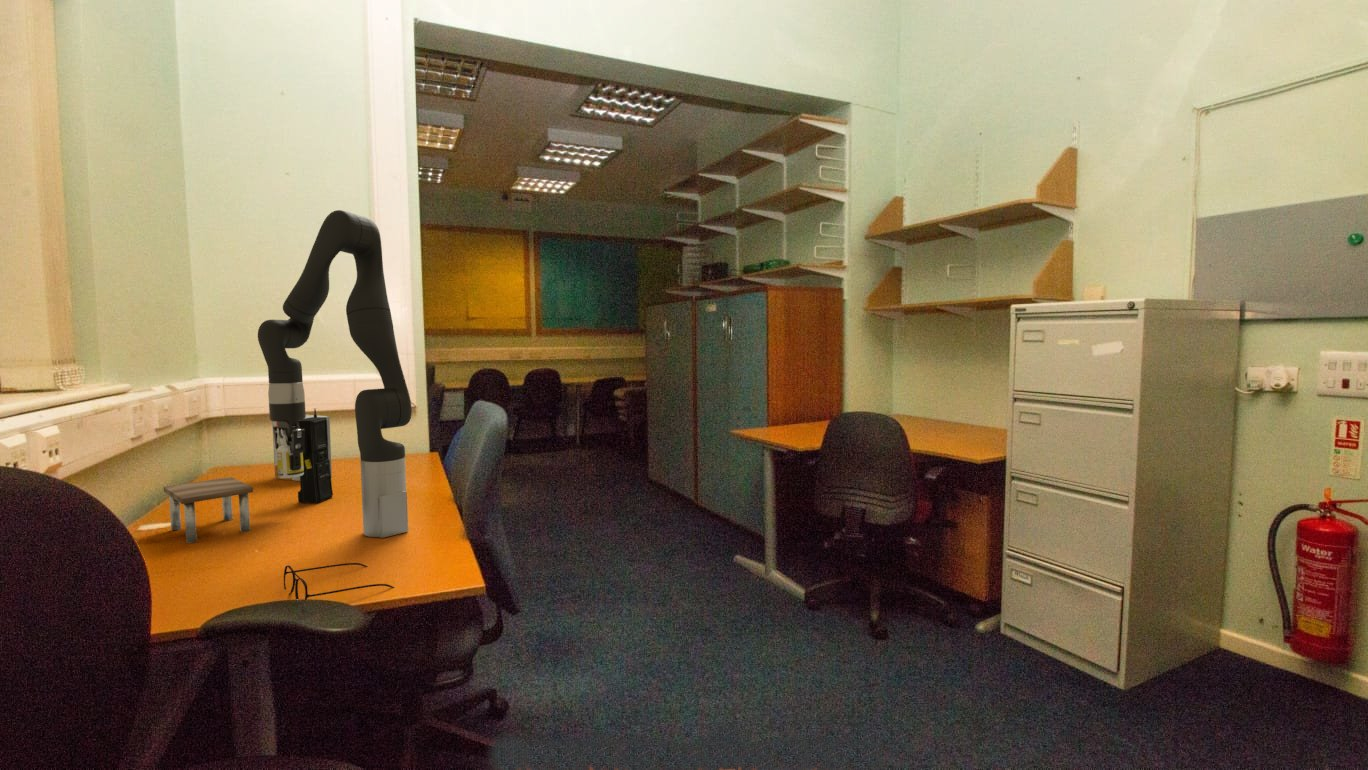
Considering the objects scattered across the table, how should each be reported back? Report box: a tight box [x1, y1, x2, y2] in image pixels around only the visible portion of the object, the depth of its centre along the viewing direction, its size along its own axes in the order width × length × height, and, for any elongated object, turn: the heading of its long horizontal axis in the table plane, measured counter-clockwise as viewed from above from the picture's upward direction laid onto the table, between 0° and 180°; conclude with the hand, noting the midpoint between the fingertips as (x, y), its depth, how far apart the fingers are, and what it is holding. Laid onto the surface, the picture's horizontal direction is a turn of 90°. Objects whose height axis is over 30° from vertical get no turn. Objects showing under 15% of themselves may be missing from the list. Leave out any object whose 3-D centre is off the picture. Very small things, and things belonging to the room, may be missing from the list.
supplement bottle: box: [277, 438, 304, 478], centre depth 153 cm, size 5×5×10 cm
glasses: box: [283, 562, 395, 601], centre depth 111 cm, size 14×15×5 cm
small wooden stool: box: [163, 476, 254, 544], centre depth 143 cm, size 16×13×10 cm
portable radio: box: [297, 409, 334, 504], centre depth 167 cm, size 8×6×25 cm
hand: (290, 468), depth 153 cm, fingers closed on supplement bottle, 5 cm apart
